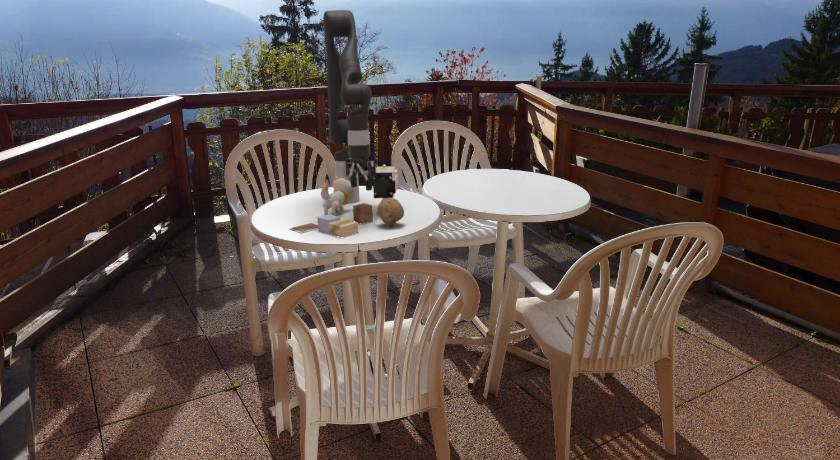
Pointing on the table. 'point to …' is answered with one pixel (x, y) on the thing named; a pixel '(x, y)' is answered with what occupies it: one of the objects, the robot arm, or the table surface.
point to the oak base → (343, 228)
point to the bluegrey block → (326, 222)
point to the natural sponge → (390, 211)
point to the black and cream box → (385, 182)
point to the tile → (305, 228)
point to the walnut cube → (363, 213)
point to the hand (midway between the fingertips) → (361, 188)
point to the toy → (336, 195)
